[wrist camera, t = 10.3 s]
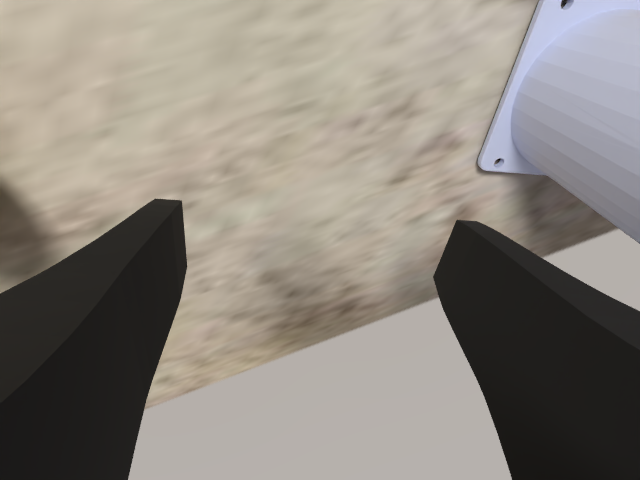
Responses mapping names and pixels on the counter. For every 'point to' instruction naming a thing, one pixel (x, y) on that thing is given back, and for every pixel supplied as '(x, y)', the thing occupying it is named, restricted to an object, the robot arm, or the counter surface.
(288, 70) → the counter surface
